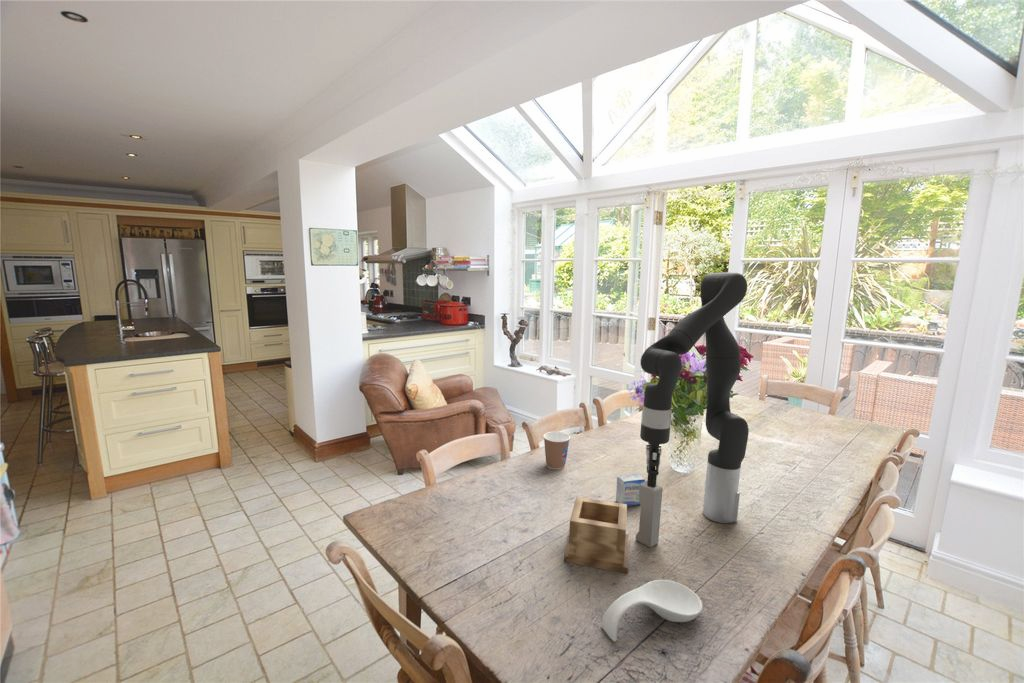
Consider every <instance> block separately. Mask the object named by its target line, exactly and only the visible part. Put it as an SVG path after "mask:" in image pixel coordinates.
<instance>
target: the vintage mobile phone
mask: <svg viewBox="0 0 1024 683" xmlns="http://www.w3.org/2000/svg"><path fill="white" fill-rule="evenodd" d="M653 469H654V470H656V466H653ZM662 499H663V487H662V486H660V485H658V484H656V487H648V486H647V480H645V482H643V483H641V484H639V501H640V504H639V505H640V513H639V524H638V525H639V526H638V528H639V529H638V532H637V534H636V535H635V540H636V541H638V542H639V543H641V544H643V545H645V546H647V547H648V548H652V547H653V546H655V545H657V544H658V543H659V537H660V528H661V527H660V525H661V515H662V514H661V513H662V501H663V500H662Z"/></svg>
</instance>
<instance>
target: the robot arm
mask: <svg viewBox="0 0 1024 683" xmlns="http://www.w3.org/2000/svg"><path fill="white" fill-rule="evenodd" d="M747 291H748V282H747V279H746V277H745V276H744V275H743V274H741V273H739V272H733V271H732V272H731V271H730V272H711V273H710V272H709V273H707V274H706V275H704V276H703V278H702V279H701V284H700V292H699V293H700V300H701V307H700V308H697V309H695V310H694V311H692V312H690V313H688V314H687V315H685V316H684V317H683V318H681V319H680V320H679V321H678V322H677V323H676V324H675V326H673V328H672V329H671V330H670V331H669V333H668V334H666V335H665V336H662V337H661V338H660V339H659V340H657V341H656V342H654V343H652V344H651V345H650V346H648V347H647V348H646V349H645V350H644V352H643V353H642V355H641V357H640V367H641V368H640V369H642V371H643V372H644V373H647V374H649V375H654V376H657V377H659V380H658V382H656V383H655V382H654V383H648V384H647V385H646V386H645V388H644V395H643V396H644V397H643V407H642V411H641V422H640V434H639V437H640V439H641V440H642V441H644V442H646V443H645V455H646V460H645V461H646V473H647V480H646V481H647V486H648V487H656V485H657V479H658V478H657V477H658V475H659V472H660V471H659V467H660V465H661V456H662V452H663V451H662V450H663V449H662V445H665V444H667V443H669V442H670V434H671V423H672V403H673V402H672V401H673V394H674V391H675V388H676V386H677V382H678V380H679V377H680V375H681V373H682V370H683V362H682V359H681V357H680V356H683V355H687V353H688V352H690V350H692V348H693V347H694V346H695V345H696V344H697V342H698V341H700V339H701V337H702V336H703V335H704V336H705V365H706V366H705V367H706V369H705V370H706V394H707V395H706V398H707V399H706V410H705V428H706V431H707V434H709V435H710V436H711V437H712V438H714V439H715V440H718V441H719V443H718V448H717V449H712V450H710V451H709V452H708V453H707V462H706V463H707V464H706V465H707V466H706V473H705V484H704V494H703V503H702V504H703V505H702V514H703V515H704V517H706V518H707V519H709V520H711V521H713V522H716V523H721V524H732V523H737V521H738V514H739V505H740V495H741V494H740V492H739V486H740V476H741V469H742V468H741V467H742V462H743V461H744V459H745V457H746V452H747V445H748V441H749V435H750V434H749V432H750V428H749V424H748V422H747V421H746V420H745V419H744V418H743V417H741V416H739V415H737V414H735V413H732V411H731V406H730V404H731V403H730V402H731V401H730V400H731V398H730V395H731V391H732V389H733V387H734V385H735V383H736V382H737V379H738V378H739V376H740V372H741V349H740V345H739V343H738V342H737V340H736V338H735V336H734V335H733V333H732V332H731V330H730V328H729V327H728V325H727V323H726V321H725V317H724V316H726V315H727V314H728V313H729V312H730V311H732V310H733V309H734V308H736V307H737V306H738V305H739V304H740V303H741V302H742V301H743V300H744V298H745V296H746V295H747ZM653 466H655V470H654V469H653Z"/></svg>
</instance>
